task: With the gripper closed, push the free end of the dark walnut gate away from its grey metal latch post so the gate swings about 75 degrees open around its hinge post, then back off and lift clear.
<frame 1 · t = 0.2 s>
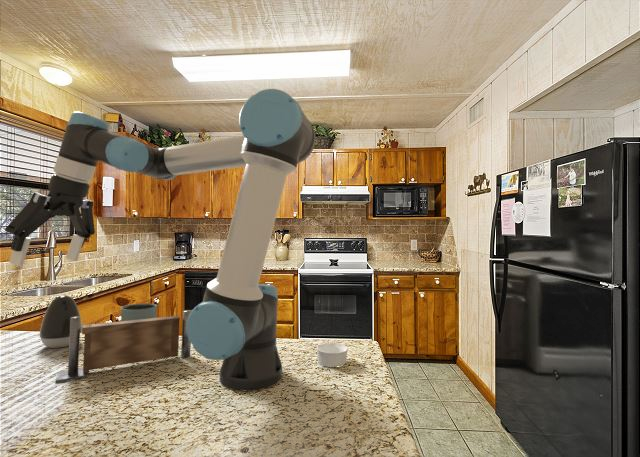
hand: (45, 261, 79), 27 cm above the countertop, tool tilted 20°, fingers open, 13 cm apart
ramekin: (331, 363, 92), on the countertop
gate: (133, 341, 86), point 6 cm above the countertop, hinge at 0.0°
dark grey egg shape: (60, 345, 100), on the countertop
teal cylindrical container: (137, 345, 102), on the countertop
latch post: (185, 356, 93), on the countertop
hinge post: (72, 375, 79), on the countertop
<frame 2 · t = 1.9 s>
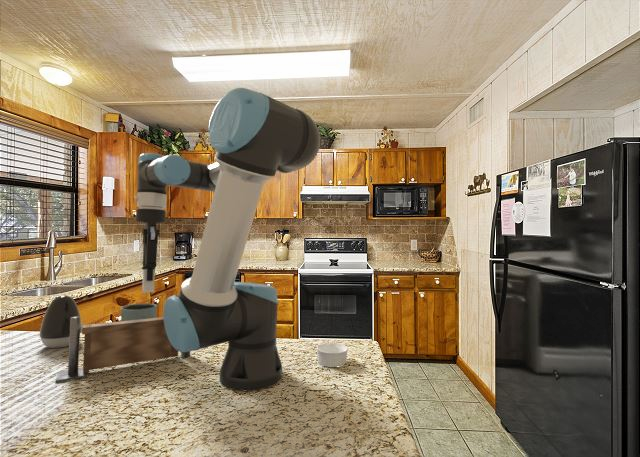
hand: (148, 291, 93), 18 cm above the countertop, tool pointing down, fingers open, 2 cm apart
nothing on the countertop moved.
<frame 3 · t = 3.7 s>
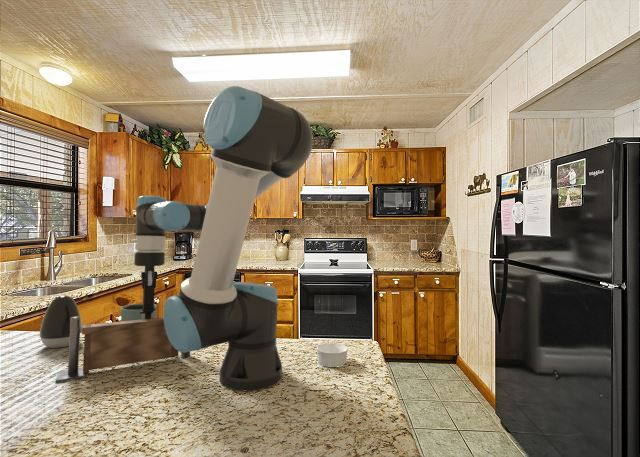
hand: (147, 335, 91), 6 cm above the countertop, tool pointing down, fingers closed
gate: (133, 341, 86), point 6 cm above the countertop, hinge at 1.0°, touching gripper
everything else where it was.
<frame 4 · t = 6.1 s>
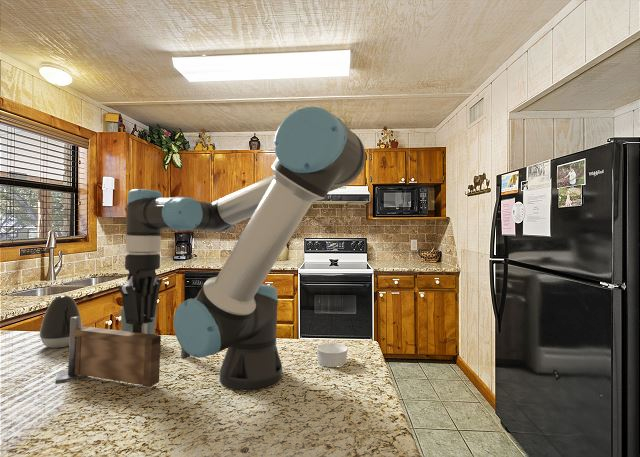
hand: (139, 350, 79), 6 cm above the countertop, tool pointing down, fingers closed
gate: (115, 355, 76), point 6 cm above the countertop, hinge at 47.5°, touching gripper
everything else where it was.
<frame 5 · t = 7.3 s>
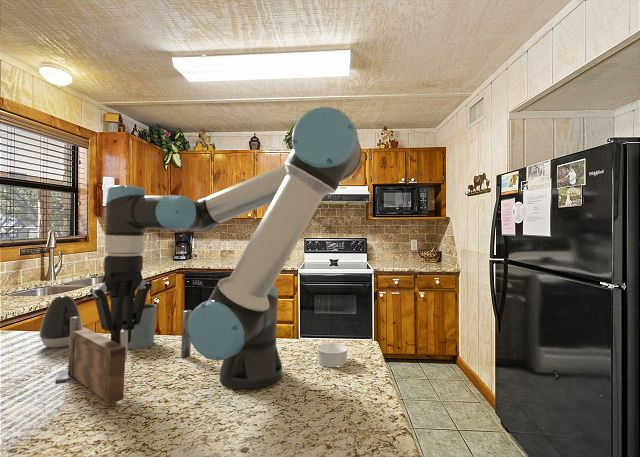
hand: (120, 359, 74), 6 cm above the countertop, tool pointing down, fingers closed
gate: (94, 361, 72), point 6 cm above the countertop, hinge at 69.0°, touching gripper
everything else where it was.
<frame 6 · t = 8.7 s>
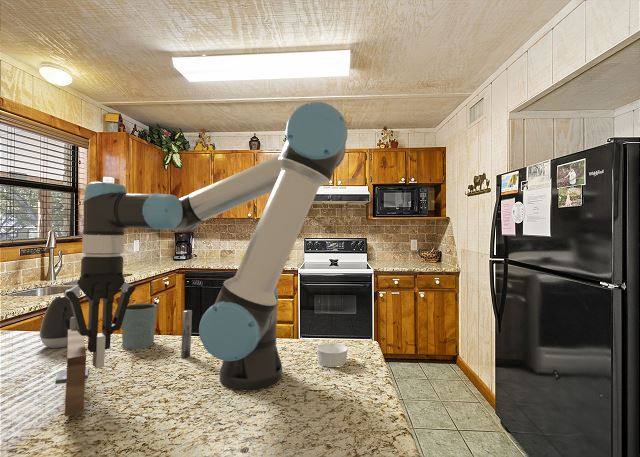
hand: (98, 365, 70), 6 cm above the countertop, tool pointing down, fingers closed
gate: (74, 366, 69), point 6 cm above the countertop, hinge at 85.5°, touching gripper
everything else where it was.
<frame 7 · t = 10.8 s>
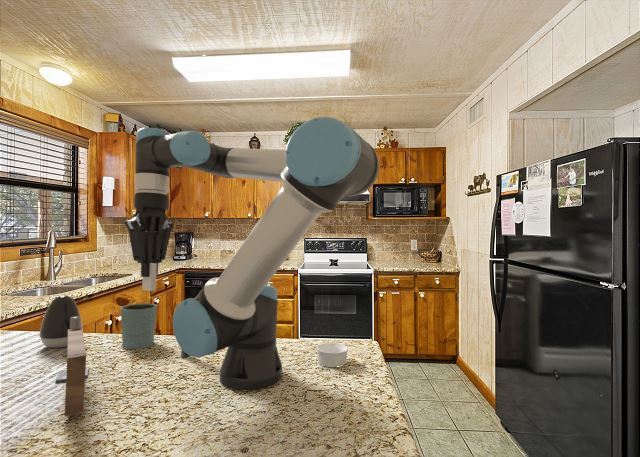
hand: (149, 290, 79), 21 cm above the countertop, tool pointing down, fingers closed
gate: (74, 366, 69), point 6 cm above the countertop, hinge at 85.5°
everything else where it was.
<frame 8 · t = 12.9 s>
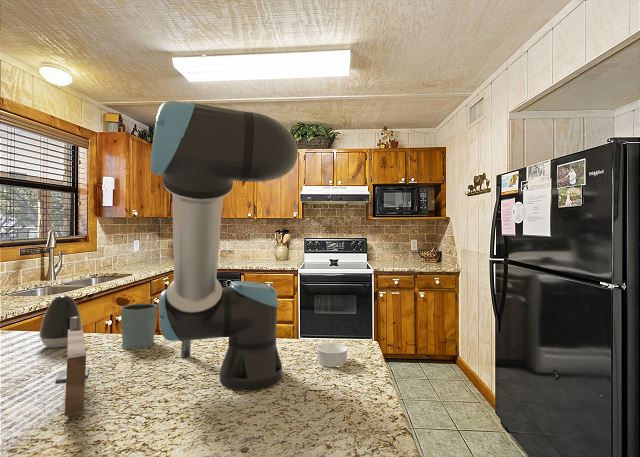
hand: (198, 269, 98), 24 cm above the countertop, tool pointing down, fingers closed
nothing on the countertop moved.
at the end: gate at +86° (first picture: +0°) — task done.
